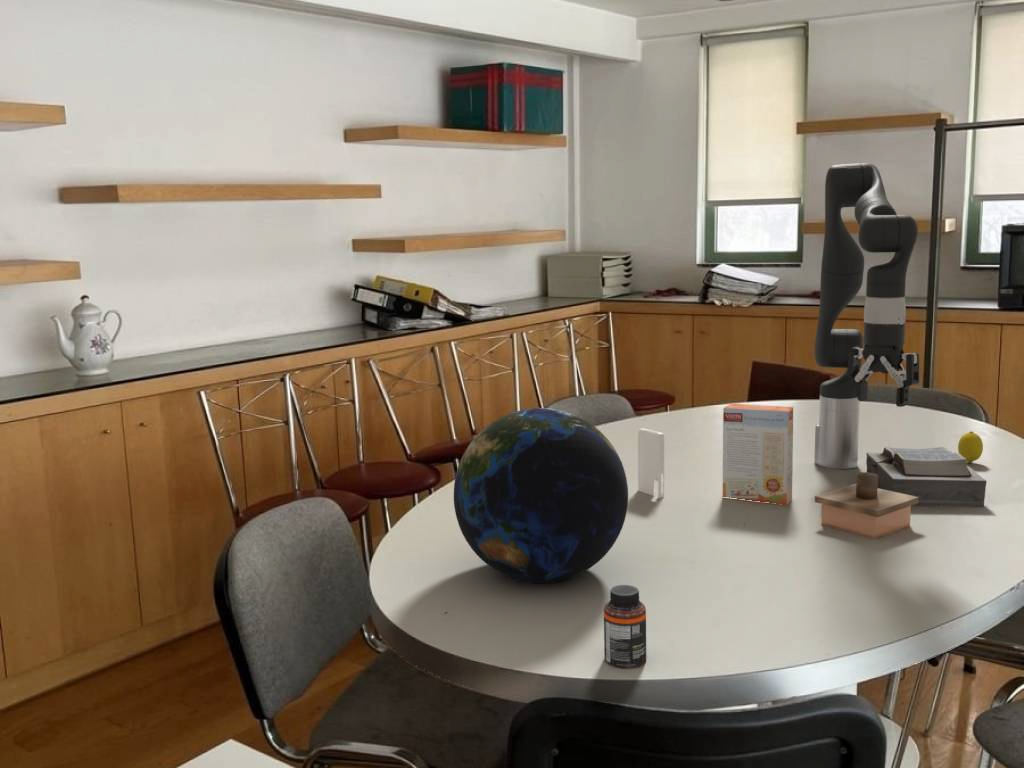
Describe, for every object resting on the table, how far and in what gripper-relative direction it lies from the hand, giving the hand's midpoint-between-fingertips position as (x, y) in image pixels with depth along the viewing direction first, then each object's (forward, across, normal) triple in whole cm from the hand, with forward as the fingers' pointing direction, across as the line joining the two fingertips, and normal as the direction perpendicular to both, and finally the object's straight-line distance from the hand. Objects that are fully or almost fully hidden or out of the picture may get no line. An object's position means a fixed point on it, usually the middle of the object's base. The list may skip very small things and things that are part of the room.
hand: (881, 403), depth 204 cm
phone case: (+25, -45, -18) cm, 54 cm away
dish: (+25, -1, -2) cm, 25 cm away
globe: (+26, -21, -68) cm, 76 cm away
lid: (+20, -1, -2) cm, 20 cm away
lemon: (+24, -14, +60) cm, 66 cm away
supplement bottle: (+26, +14, -82) cm, 87 cm away
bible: (+25, -8, +29) cm, 39 cm away
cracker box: (+25, -27, -3) cm, 37 cm away
